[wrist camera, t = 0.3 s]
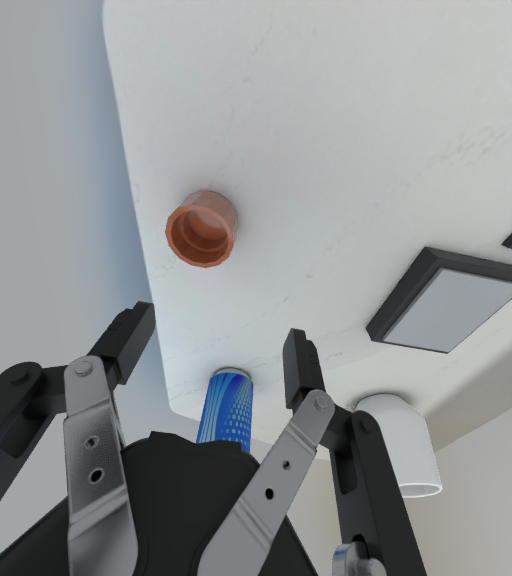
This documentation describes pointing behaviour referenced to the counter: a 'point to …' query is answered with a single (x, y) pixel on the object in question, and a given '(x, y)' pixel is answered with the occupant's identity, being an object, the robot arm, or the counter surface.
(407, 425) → the cup
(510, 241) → the block
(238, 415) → the beer can
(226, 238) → the copper hollow cylinder
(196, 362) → the counter surface
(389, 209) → the counter surface
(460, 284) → the scale
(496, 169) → the counter surface
